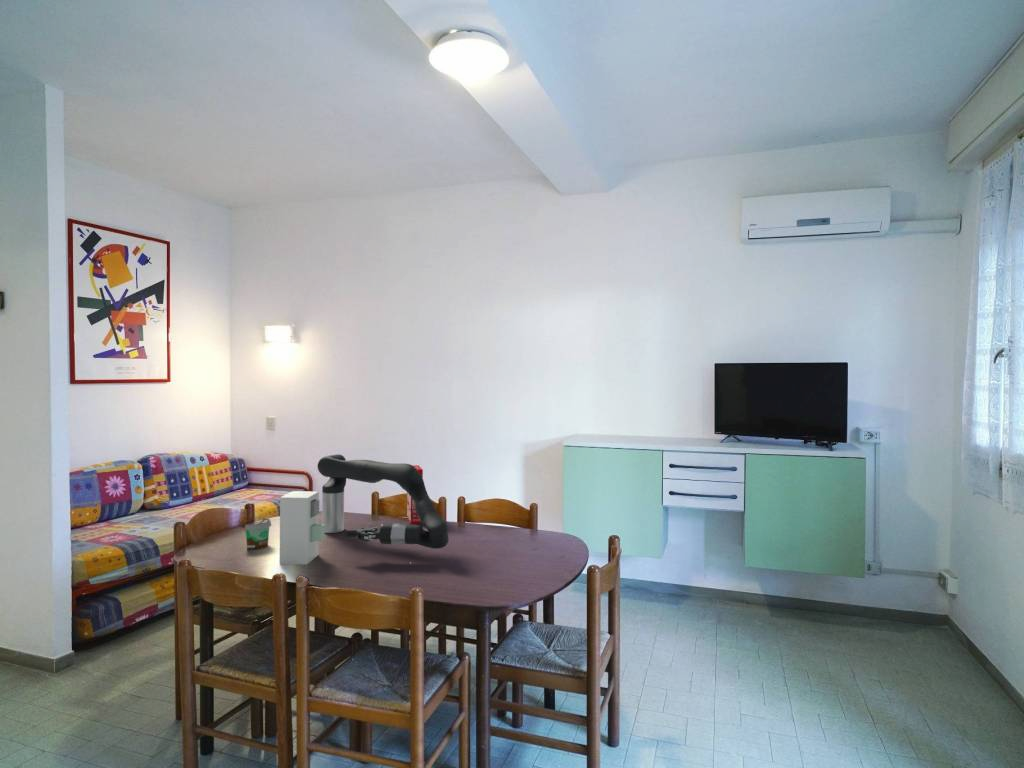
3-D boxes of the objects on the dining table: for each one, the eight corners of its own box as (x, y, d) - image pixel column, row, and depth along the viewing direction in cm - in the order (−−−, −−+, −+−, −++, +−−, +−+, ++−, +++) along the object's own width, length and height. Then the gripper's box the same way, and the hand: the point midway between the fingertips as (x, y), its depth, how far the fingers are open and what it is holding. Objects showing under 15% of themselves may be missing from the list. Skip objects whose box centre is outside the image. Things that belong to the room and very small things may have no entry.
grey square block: (303, 513, 227) (303, 499, 227) (319, 513, 227) (319, 500, 227) (298, 516, 222) (298, 502, 222) (314, 516, 222) (314, 502, 222)
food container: (258, 551, 234) (259, 525, 234) (244, 550, 235) (244, 524, 235) (277, 543, 246) (277, 518, 246) (263, 542, 247) (264, 517, 247)
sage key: (308, 537, 227) (308, 524, 227) (324, 537, 227) (324, 524, 227) (303, 540, 222) (304, 527, 222) (320, 541, 222) (320, 527, 222)
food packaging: (422, 523, 283) (422, 469, 282) (410, 524, 281) (411, 470, 281) (417, 516, 297) (418, 465, 296) (406, 517, 295) (407, 465, 295)
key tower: (291, 554, 231) (292, 491, 230) (318, 554, 231) (318, 491, 230) (279, 564, 219) (280, 497, 218) (307, 564, 219) (307, 497, 218)
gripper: (397, 519, 231) (352, 518, 231) (390, 528, 218) (342, 527, 218) (397, 539, 231) (351, 538, 231) (390, 549, 218) (341, 548, 218)
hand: (347, 533), depth 224 cm, fingers closed
